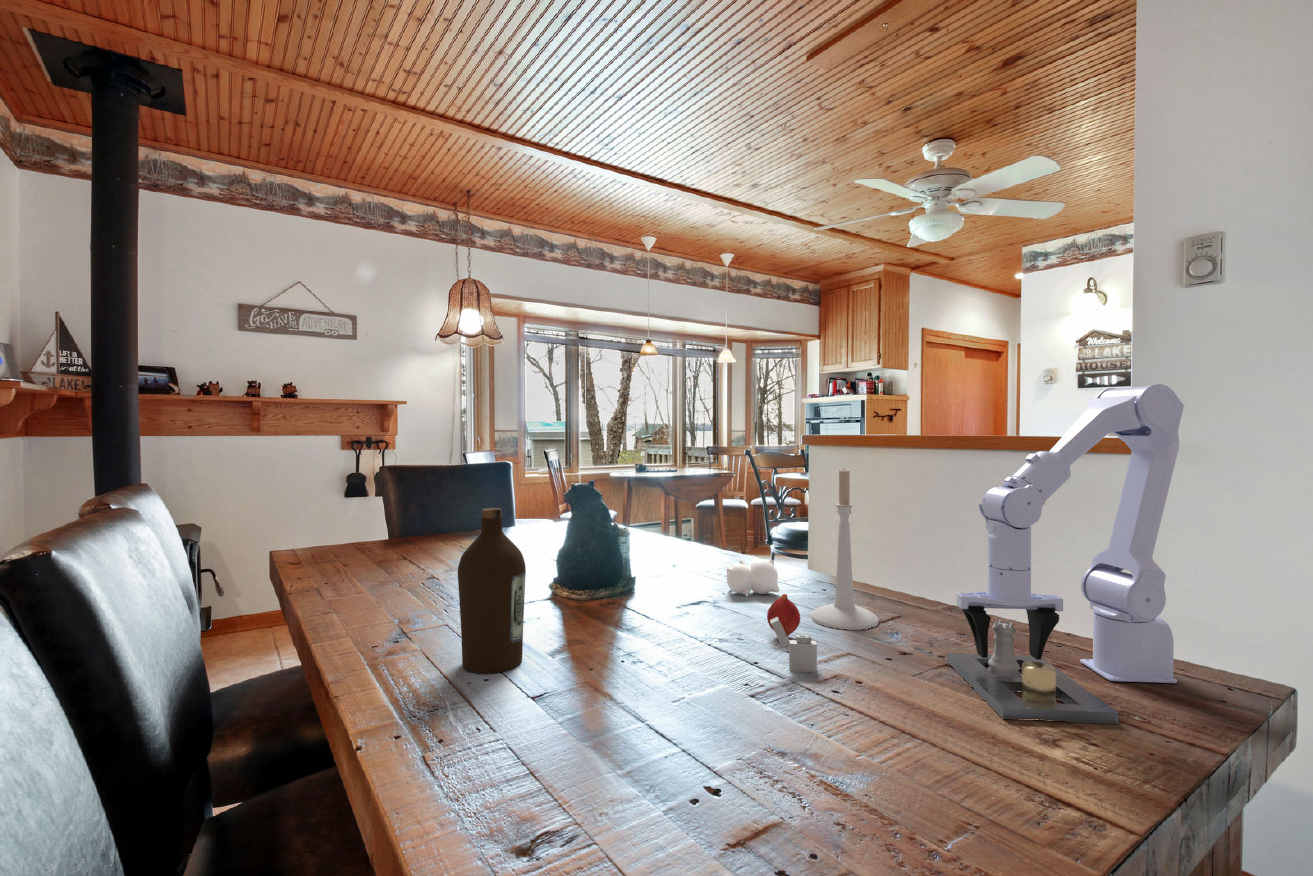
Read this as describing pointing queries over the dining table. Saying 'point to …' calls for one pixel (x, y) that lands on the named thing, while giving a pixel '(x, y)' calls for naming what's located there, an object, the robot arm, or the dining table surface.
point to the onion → (784, 614)
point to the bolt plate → (1033, 691)
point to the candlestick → (844, 576)
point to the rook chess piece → (1003, 651)
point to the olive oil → (491, 599)
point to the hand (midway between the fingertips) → (1008, 656)
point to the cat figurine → (753, 577)
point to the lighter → (798, 649)
